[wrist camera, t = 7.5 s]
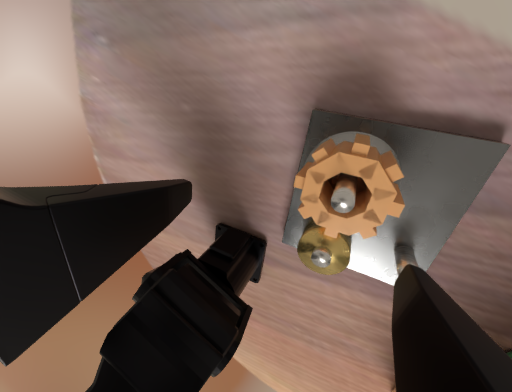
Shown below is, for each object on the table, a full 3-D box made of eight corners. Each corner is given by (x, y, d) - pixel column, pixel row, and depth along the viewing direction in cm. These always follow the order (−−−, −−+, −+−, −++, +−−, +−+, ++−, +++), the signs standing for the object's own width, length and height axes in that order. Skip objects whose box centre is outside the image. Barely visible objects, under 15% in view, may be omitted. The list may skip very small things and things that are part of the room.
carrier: (408, 285, 20) (422, 348, 15) (284, 238, 24) (262, 276, 19) (502, 141, 14) (575, 167, 9) (315, 108, 18) (295, 114, 13)
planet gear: (377, 226, 18) (380, 255, 15) (298, 201, 20) (284, 222, 17) (415, 144, 15) (429, 159, 12) (316, 125, 17) (304, 132, 14)
